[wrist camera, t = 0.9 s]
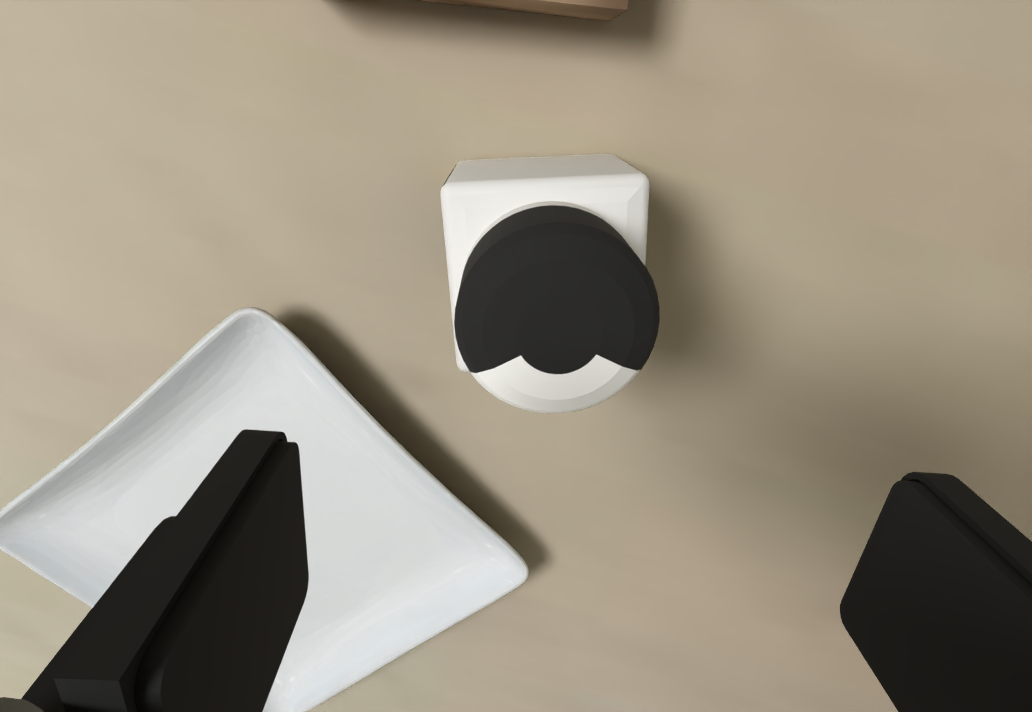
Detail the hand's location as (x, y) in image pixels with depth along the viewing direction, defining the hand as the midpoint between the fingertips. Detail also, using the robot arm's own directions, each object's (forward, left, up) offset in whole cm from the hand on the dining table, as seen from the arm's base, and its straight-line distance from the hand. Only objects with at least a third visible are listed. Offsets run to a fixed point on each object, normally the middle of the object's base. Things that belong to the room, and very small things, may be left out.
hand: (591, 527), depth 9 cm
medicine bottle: (0, 0, -20) cm, 20 cm away
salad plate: (+13, +18, -21) cm, 30 cm away
